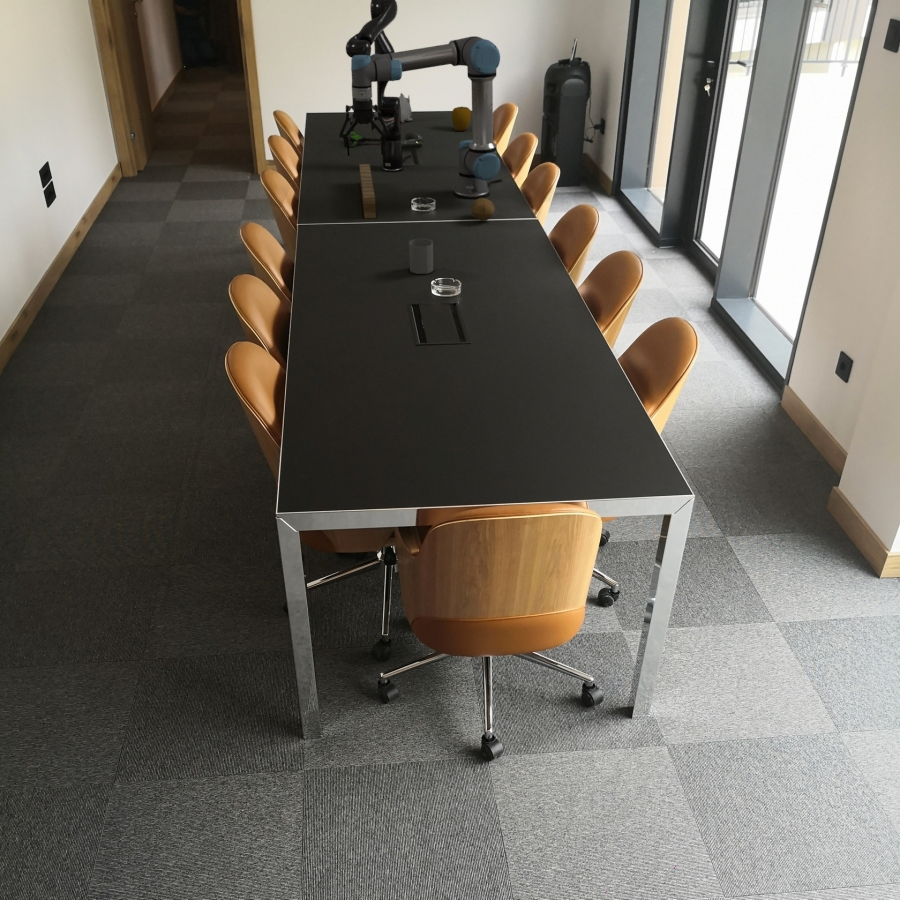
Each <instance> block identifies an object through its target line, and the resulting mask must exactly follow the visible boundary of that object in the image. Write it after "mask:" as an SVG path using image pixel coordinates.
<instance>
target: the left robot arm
mask: <svg viewBox="0 0 900 900" xmlns="http://www.w3.org/2000/svg"><path fill="white" fill-rule="evenodd" d="M369 5H370V20H369V21H367V22H365V23H364V24H363V25H362V27H361V29H360V30H359V32H358V33H355V34H354V35H353V36H352V37H350V38H349V39H348V41H347V42H346V45H345V53H346V55H347V56H348V57H349V58H351V59H352V57H353V56H355V55H368V56H371V55H372V45H373V47H374V54H380V55H382V54H389V53H395V49H394V46H393V45H392V43H391V41H390V40H389V38H388V36H387V34H386V33H385V29H386V28H387V27H388V26H389V25H390V24H392V22H394V20H395V19H396V18H397V14H398V9H399V8H398V3H397V1H396V0H371V1H370V4H369ZM351 73H352V71H351ZM388 83H389V81H379V82H376V103H375V104H373V112H378V111H380V112H381V117H382V118H383V119H384V118H385V119H391V118H394V120H392V121H390V122H388V123H385V125H386V127H387V128H388V130H389V132H390V136H387V137H386V145H385V146H383V155H382V154H381V155H382V170H383V171H385V172H400V171H402V170H403V165H404V164H403V162H404V161H405V160H406V159H408V158H411V157H412V155H411V154H409V155H407V156H404V157H403V148H402V122H401V101H400V99H399V97H400V96H385V92H386V89H387V86H388ZM352 87H353V86H352V85H351V97H352V98H351V99H352V101H353V100H354V98H353V89H352ZM351 110H352V111H353V112H354V106H353V104H351V105H348V104H346V105H345V113H346V112H347V111H348V112H350V111H351ZM372 119H373V121H374V122H375V123H376V121H378V120H379V118H377V117H376V116H374V117H373V118H372ZM354 120H355V118H354V117H353V116H351V118H349V120H348V122H349V127H350V126H351V125H352V123H353V122H354ZM370 125H371V131H374V130H376V129H375V128H374V126H373V125H372V124H371V123H370ZM380 129H381V130H382V131H383V132H384V133H386V132H385V130H384V128H383V126H382V125H381V128H380ZM354 130H355V128H354V129H353V130H352V131H351V132H355V131H354Z"/></svg>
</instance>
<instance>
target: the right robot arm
mask: <svg viewBox="0 0 900 900" xmlns="http://www.w3.org/2000/svg"><path fill="white" fill-rule="evenodd" d="M350 63H351V64H350V70H351V71H352V72H351V90H352V89H353V98H354V100H352V105H353V106H354V111H353V112H350V111H349V112H348V111H347V112H346V111H345V118H344V121H343V123H342V125H341V128H340V130H339V132H338V137H339V138H342V139H343V143H344V145H343V146H344V147H345V148H346V150H347V157H348V156H349V157H350V147H349V145H350V141H349V140H350V138H348V137H349V136H350V135H351V134H352V133H351V132H353V131H352V130H353V129H354V130H355V127H356V126H357V125H358V124H359V125H363V124H364V125H368V124H370V125H371V124H372V125H373V126H374V128H375V129H374V130H376V131H377V133H379V135H380V139H381V142H380V155H383V146H385V145H386V137H387V136H390V132H389V130H388V128H387V127H386V123H385V121H384V118H383V117H381V112H380V111H378V112H375V111H374V110H373V105H374V103H373V99H372V98H373V85H372V84H373V83H377V82H379V81H388V82H396V81H400V80H401V79H402V77H403V73H404V72H409V71H417V70H422V69H428V68H435V67H441V66H446V65H451V66H452V67H457V66H459V67H460V66H462V67H467V68H466V69H467V78H468V79H469V81H471V82H470V83H471V129H472V130H471V131H472V132H471V133H472V136H471V137H472V138H471V139H467V140H462V141H460V142H459V144H458V177H457V181H456V184H455V187H454V195H455V196H456V197H457V198H462V199H470V200H471V199H472V200H474V199H475V200H476V199H479V198H485V197H487V196H489V194H490V189H489V187H488V186H490V185H491V184H493V183H497V182H498V183H499V182H503V179H502V178H500V179H494V178H495V177H496V176H497V175H498V174H499V172H500V170H501V161H500V159H499V157H498V155H497V154H498V153H497V151H498V150H497V148H498V146H497V143H495V141H494V102H493V101H494V92H493V91H494V89H493V87H494V86H493V85H494V84H493V82H494V79H495V78H496V77H497V69H498V67H499V65H500V63H501V53H500V50H499V48H498V46H497V45H496V44H495V43H494V42H492V41H491V40H489V39H486V38H482V37H480V36H476V35H474V36H467V37H463V38H458V39H451V40H450V41H449V42H448V43H444V44H439V45H438V44H437V45H432V46H426V47H420V48H413V49H408V50H407V49H406V50H402V51H396V52H395V53H389V54H382V55H380V54H375V53H373V54H371V55H370V56H368V55H355V56H353V57H352V58H351V59H350ZM352 86H353V87H352ZM352 116H353V117H354V120H353V123H352V125H351V126H350V125H349V127H348V128H347V126H348V123H349V121H348V120H349V118H351V117H352ZM373 117H377V118H379V119H378V120H379V122H380V124H381V127H382V126H383V128H384V130H385V132H386V133H384V132H383V131H382V130H381V128H380V126H379V125H378V124H377V123H376V121H375V122H374V121H373V119H372V118H373ZM346 128H347V130H346ZM345 130H346V131H345ZM345 132H346V133H345ZM343 133H345V134H343ZM492 179H494V180H492ZM490 180H491V181H490ZM487 181H488V182H487Z"/></svg>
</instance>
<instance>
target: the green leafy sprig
mask: <svg viewBox="0 0 900 900" xmlns="http://www.w3.org/2000/svg"><path fill="white" fill-rule="evenodd" d="M345 133H346V131H344V133H343V134H345ZM350 134H352V135H348V138H349V143H352V144H349V148H355V147H356V146H358V145H360V144H364V143H365V142H377V143H379V142H380V143H381V138H378V137H377V138H376V137H374V138H373V137H365V136H363V135H361V134H359V133H357V132H356V131H351V133H350ZM339 144H341V145H343V146H344V142H341V141H339Z"/></svg>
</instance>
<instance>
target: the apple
mask: <svg viewBox="0 0 900 900" xmlns="http://www.w3.org/2000/svg"><path fill="white" fill-rule="evenodd" d="M451 121H452V125H453V128H454V129H455V131H457V132H463V131H466V130H467V129H468V128H469V126H470V124H471V122H472V110H471V108H469V107H467V106H462V105H461V106H457V107H454V108H452V111H451Z"/></svg>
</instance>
